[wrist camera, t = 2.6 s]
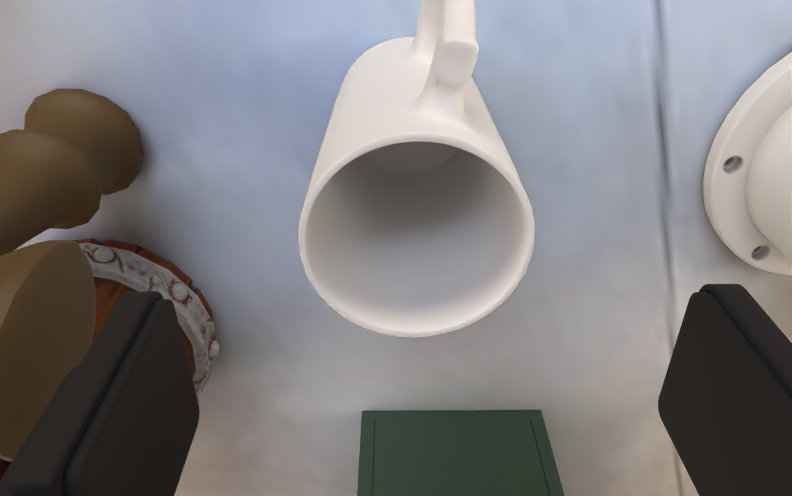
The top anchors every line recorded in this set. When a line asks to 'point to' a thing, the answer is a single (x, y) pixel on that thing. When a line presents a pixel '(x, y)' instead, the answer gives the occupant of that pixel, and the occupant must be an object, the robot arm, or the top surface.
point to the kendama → (52, 244)
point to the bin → (456, 454)
